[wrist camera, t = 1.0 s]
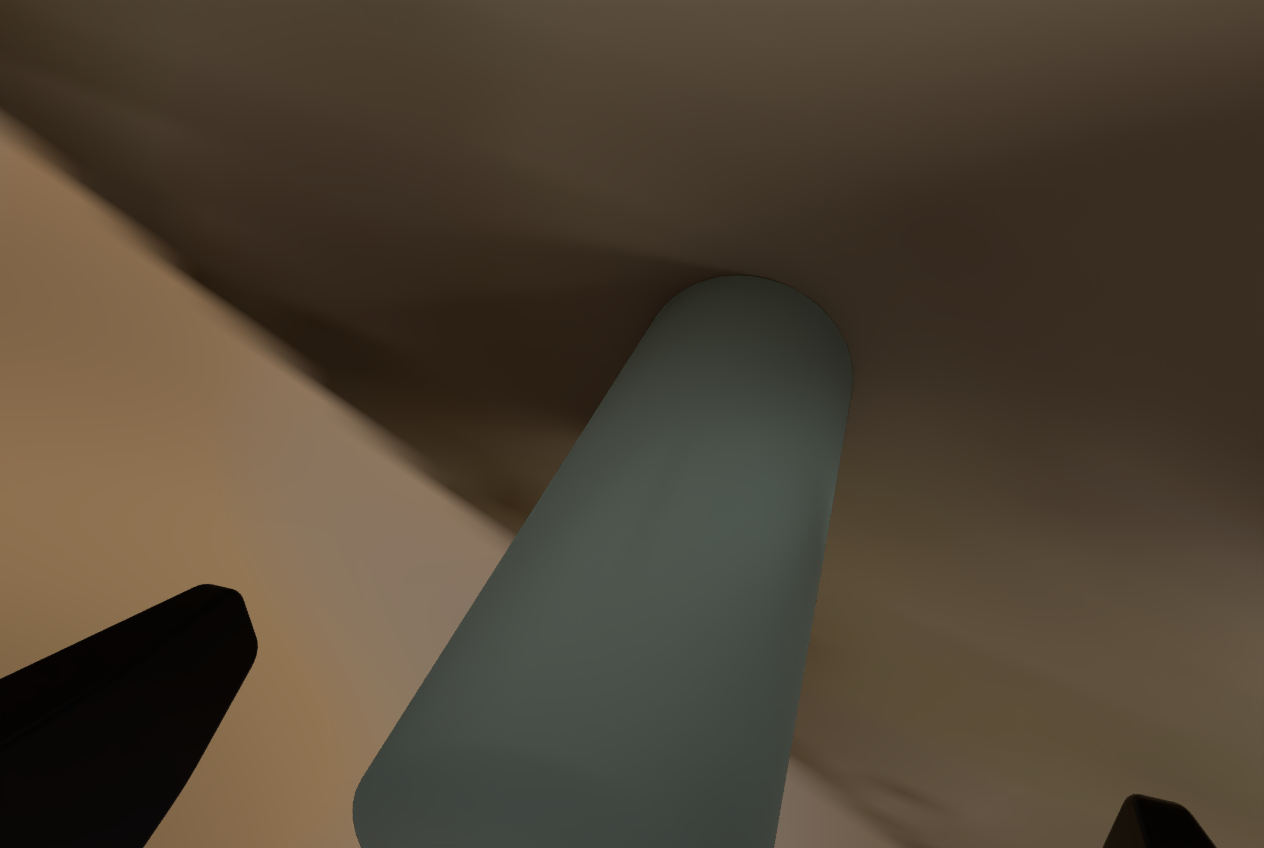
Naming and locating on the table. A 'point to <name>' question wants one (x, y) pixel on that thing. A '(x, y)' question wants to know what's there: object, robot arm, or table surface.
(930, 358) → the table surface
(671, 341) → the pin
